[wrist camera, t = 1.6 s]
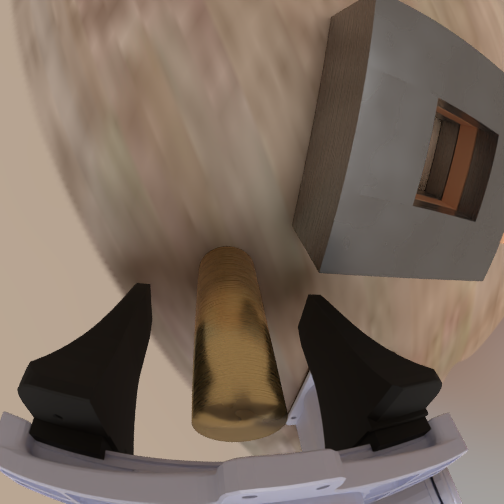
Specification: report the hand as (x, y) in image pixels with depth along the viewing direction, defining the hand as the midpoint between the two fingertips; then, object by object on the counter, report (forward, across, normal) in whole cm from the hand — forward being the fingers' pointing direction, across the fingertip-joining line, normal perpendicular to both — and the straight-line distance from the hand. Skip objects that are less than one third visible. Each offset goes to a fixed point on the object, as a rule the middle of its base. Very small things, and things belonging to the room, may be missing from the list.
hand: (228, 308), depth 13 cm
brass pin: (+3, 0, 0) cm, 3 cm away
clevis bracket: (+3, -9, -9) cm, 12 cm away
